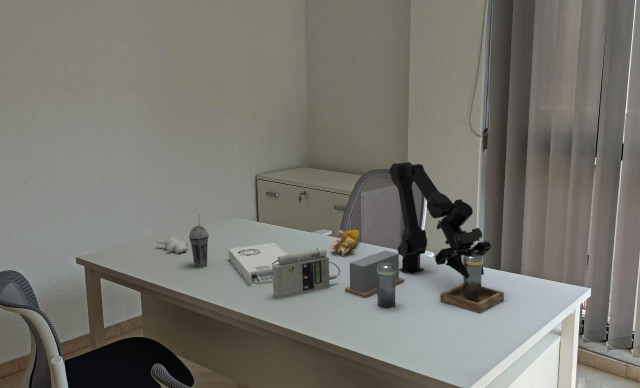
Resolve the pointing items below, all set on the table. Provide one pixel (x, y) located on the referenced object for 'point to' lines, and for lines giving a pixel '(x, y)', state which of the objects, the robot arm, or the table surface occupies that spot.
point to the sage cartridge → (386, 284)
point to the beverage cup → (199, 245)
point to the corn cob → (345, 241)
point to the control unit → (370, 273)
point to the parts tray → (472, 304)
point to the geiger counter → (301, 273)
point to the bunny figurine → (174, 244)
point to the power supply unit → (256, 262)
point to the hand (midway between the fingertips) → (475, 276)
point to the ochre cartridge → (472, 275)
